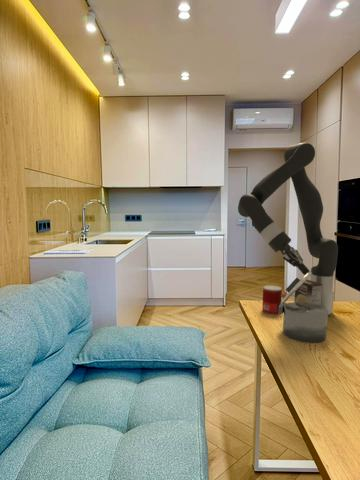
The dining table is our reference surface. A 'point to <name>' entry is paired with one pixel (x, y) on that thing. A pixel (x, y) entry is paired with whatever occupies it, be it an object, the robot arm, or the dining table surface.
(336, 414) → the dining table surface
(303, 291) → the coffee box
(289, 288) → the lid
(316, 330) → the cooker pot
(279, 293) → the canned food
